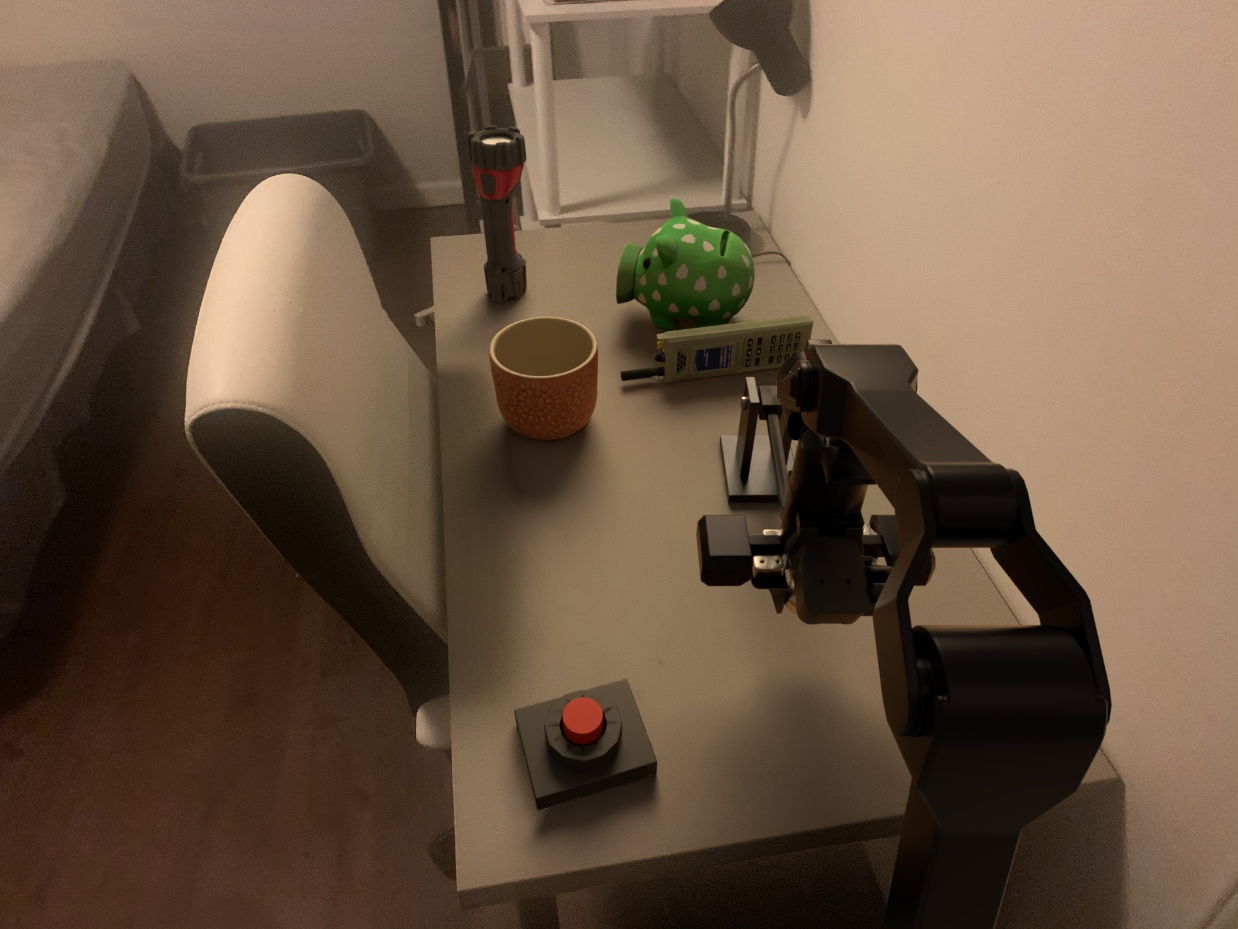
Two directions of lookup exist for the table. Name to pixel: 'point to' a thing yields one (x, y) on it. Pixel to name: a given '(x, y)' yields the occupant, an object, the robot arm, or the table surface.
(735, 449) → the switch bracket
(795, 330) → the handheld radio
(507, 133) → the flashlight
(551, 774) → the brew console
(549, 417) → the planter
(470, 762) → the table surface
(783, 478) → the power lever
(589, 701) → the stop button
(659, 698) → the table surface
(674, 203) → the piggy bank
